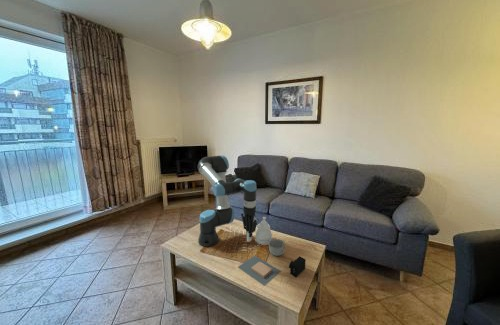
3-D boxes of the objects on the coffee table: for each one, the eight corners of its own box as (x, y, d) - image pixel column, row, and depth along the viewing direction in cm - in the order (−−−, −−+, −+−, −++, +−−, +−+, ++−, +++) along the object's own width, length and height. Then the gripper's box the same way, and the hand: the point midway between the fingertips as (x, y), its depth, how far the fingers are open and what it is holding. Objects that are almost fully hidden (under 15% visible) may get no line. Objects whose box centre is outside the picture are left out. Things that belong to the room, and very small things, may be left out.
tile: (251, 267, 127) (263, 275, 120) (259, 261, 133) (272, 268, 126) (251, 270, 128) (263, 278, 121) (259, 263, 133) (272, 271, 126)
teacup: (283, 259, 138) (284, 248, 137) (267, 257, 140) (267, 246, 139) (284, 247, 152) (285, 237, 150) (269, 245, 154) (270, 235, 152)
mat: (237, 267, 130) (237, 267, 130) (254, 256, 142) (254, 255, 141) (264, 286, 115) (264, 285, 115) (281, 271, 127) (281, 271, 127)
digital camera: (297, 264, 133) (298, 255, 132) (305, 269, 129) (305, 258, 128) (288, 273, 126) (288, 262, 124) (296, 277, 122) (296, 267, 121)
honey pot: (256, 235, 168) (257, 214, 165) (272, 236, 165) (273, 215, 162) (253, 244, 156) (254, 221, 152) (271, 246, 153) (271, 223, 150)
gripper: (237, 204, 128) (237, 238, 133) (253, 211, 119) (252, 247, 124) (246, 201, 133) (246, 234, 138) (261, 207, 125) (260, 242, 130)
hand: (249, 240), depth 131 cm, fingers closed
